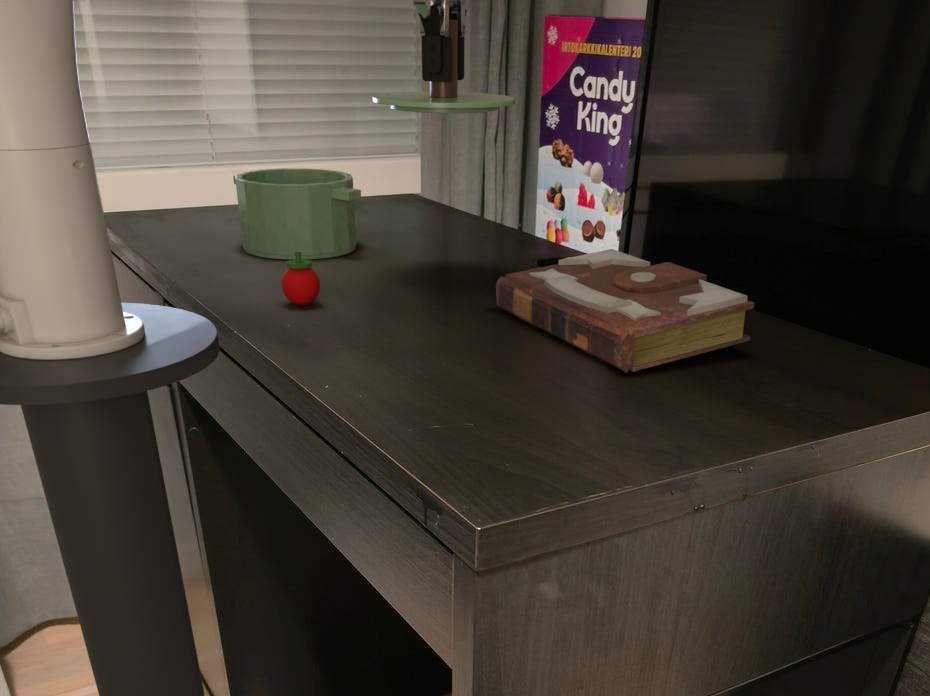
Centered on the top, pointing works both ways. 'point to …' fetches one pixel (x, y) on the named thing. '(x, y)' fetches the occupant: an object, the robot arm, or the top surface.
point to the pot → (297, 212)
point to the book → (626, 308)
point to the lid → (444, 93)
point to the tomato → (300, 281)
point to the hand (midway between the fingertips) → (443, 78)
